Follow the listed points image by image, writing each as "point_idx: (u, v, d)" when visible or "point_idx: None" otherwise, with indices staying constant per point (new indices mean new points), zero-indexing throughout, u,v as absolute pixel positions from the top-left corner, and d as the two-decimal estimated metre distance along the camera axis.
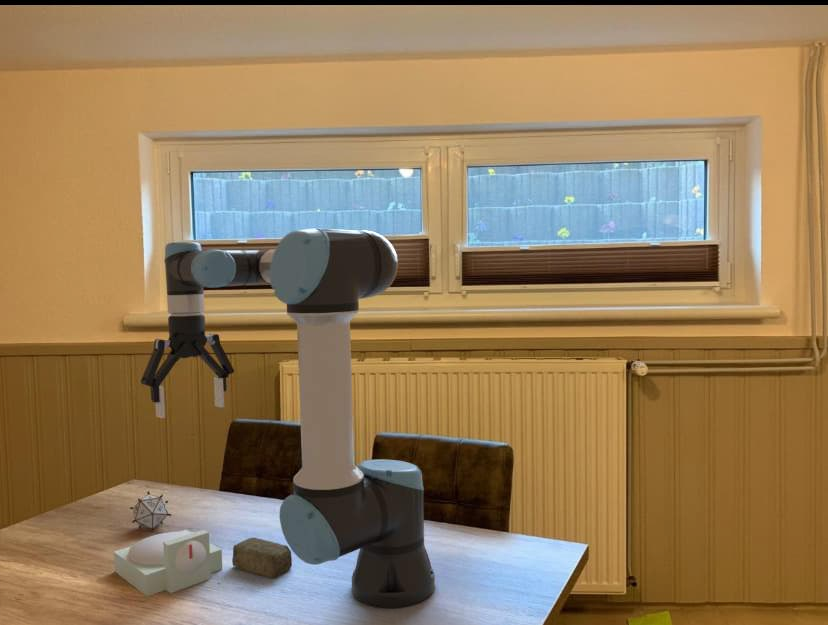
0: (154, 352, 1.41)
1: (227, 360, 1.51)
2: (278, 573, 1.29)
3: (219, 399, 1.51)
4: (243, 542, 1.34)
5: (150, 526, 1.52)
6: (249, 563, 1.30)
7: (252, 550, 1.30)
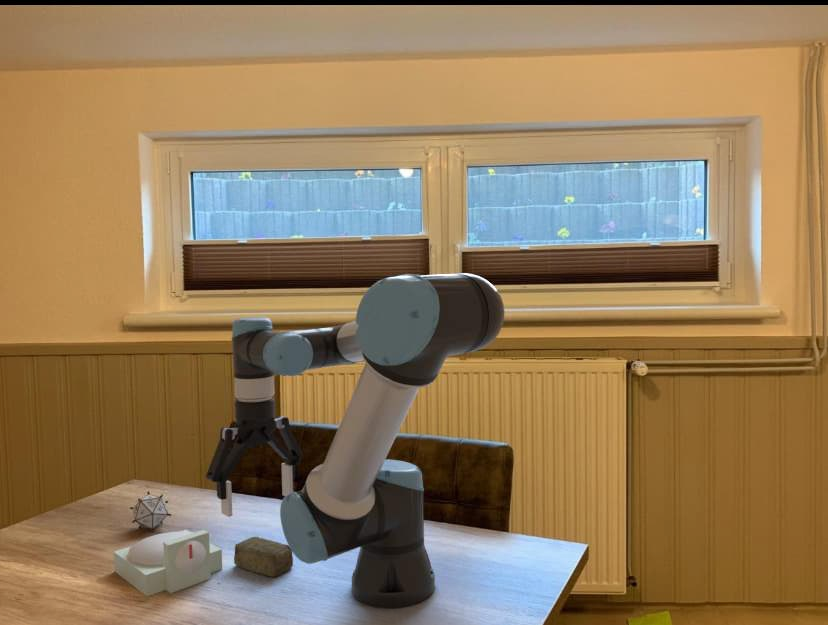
0: (221, 443, 1.26)
1: (297, 445, 1.36)
2: (279, 572, 1.29)
3: (288, 488, 1.36)
4: (245, 541, 1.35)
5: (150, 526, 1.52)
6: (250, 562, 1.31)
7: (254, 549, 1.31)
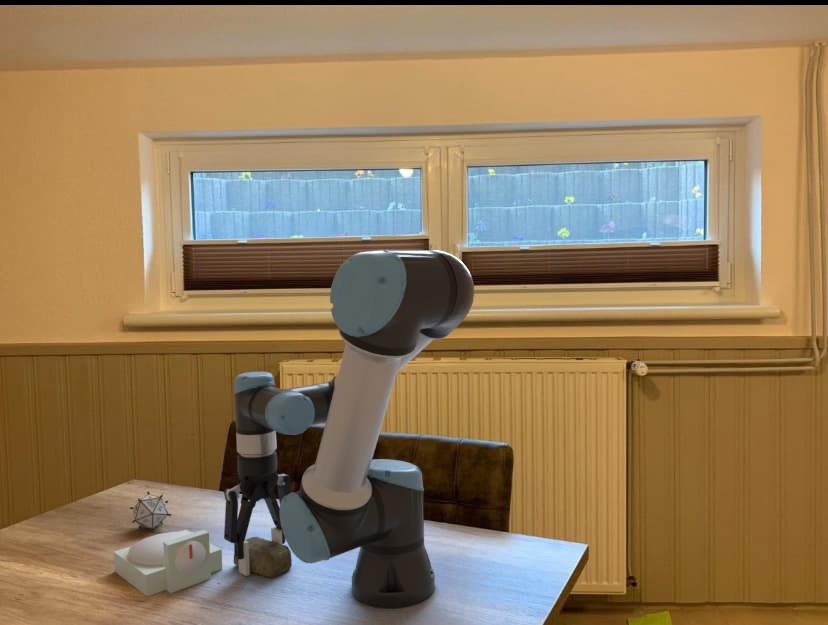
0: (228, 505, 1.28)
1: None
2: (277, 573, 1.29)
3: None
4: None
5: (150, 526, 1.52)
6: (249, 562, 1.31)
7: (252, 549, 1.31)
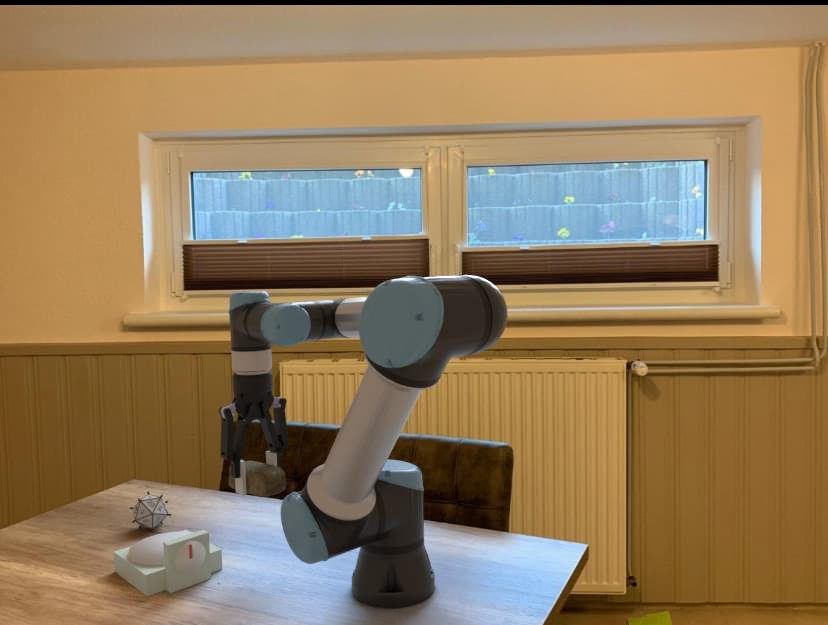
0: (223, 422, 1.27)
1: (285, 430, 1.34)
2: (270, 493, 1.27)
3: None
4: None
5: (150, 526, 1.52)
6: None
7: (246, 469, 1.29)
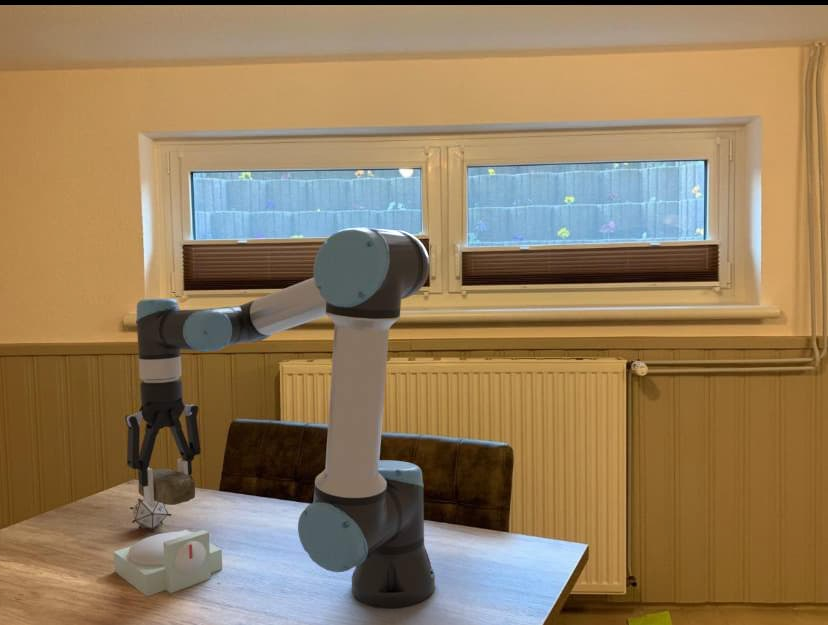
0: (129, 431, 1.26)
1: (197, 438, 1.34)
2: (178, 501, 1.27)
3: None
4: None
5: (150, 526, 1.52)
6: None
7: (154, 477, 1.29)
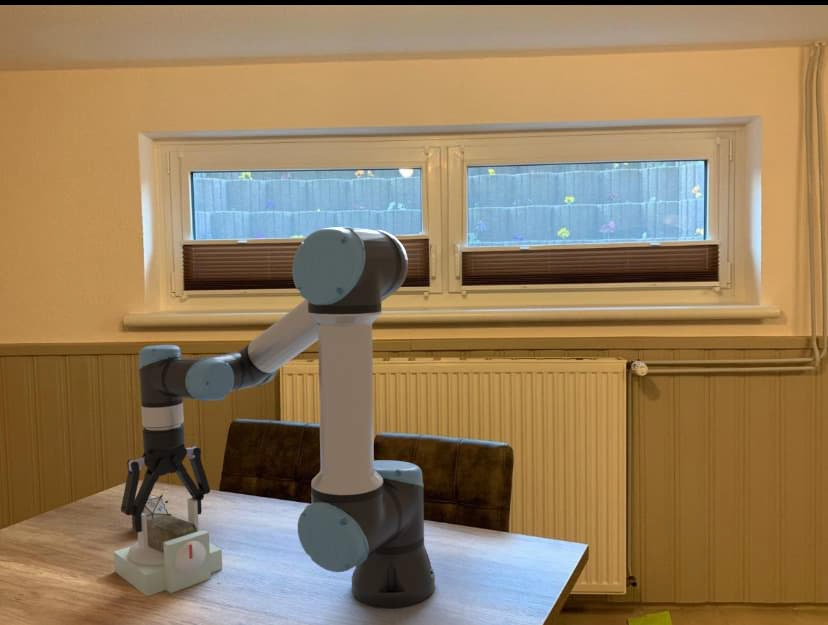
0: (129, 476, 1.26)
1: (204, 478, 1.35)
2: None
3: None
4: (154, 519, 1.34)
5: None
6: (155, 540, 1.30)
7: (158, 526, 1.30)
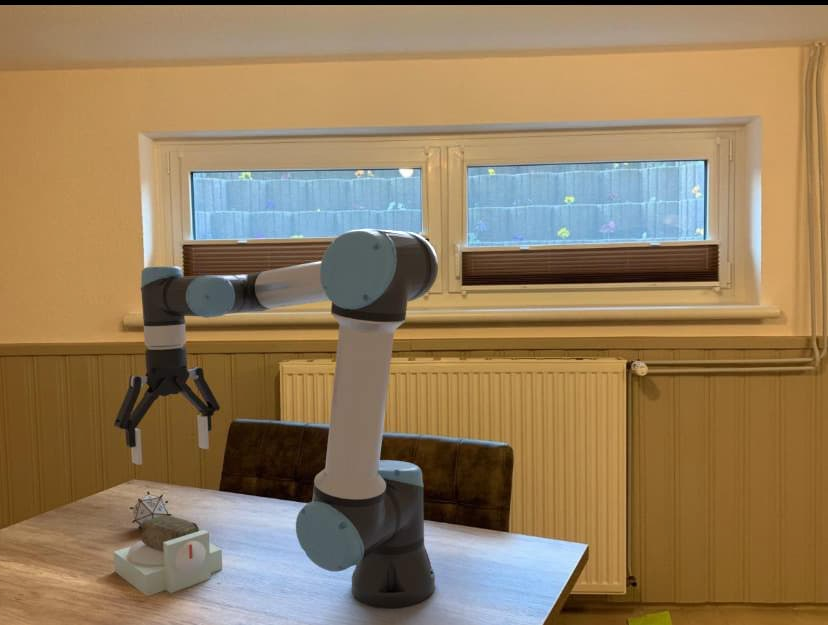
0: (129, 390, 1.26)
1: (212, 396, 1.36)
2: None
3: (203, 440, 1.35)
4: (153, 519, 1.34)
5: None
6: (156, 540, 1.30)
7: (159, 526, 1.30)
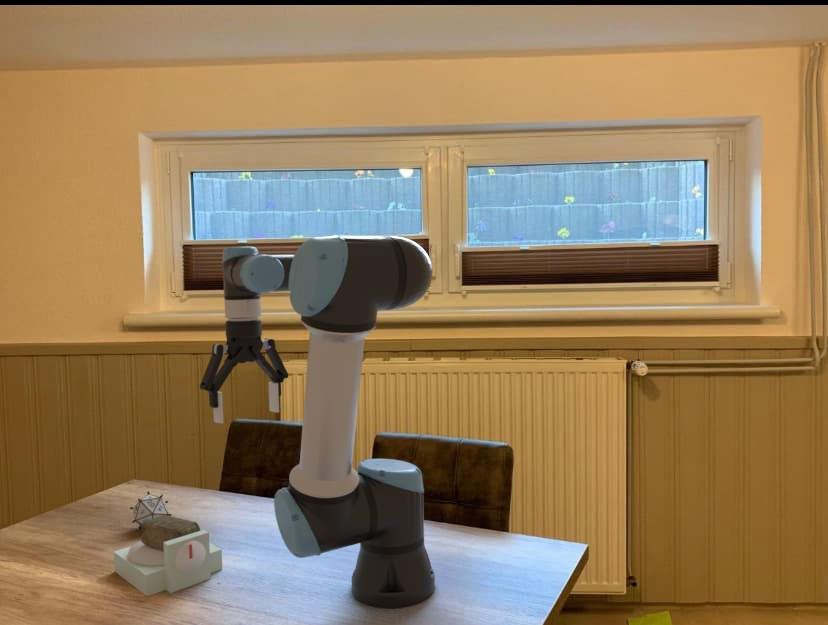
0: (213, 357, 1.41)
1: (282, 365, 1.51)
2: None
3: (274, 404, 1.50)
4: (153, 519, 1.33)
5: None
6: (157, 540, 1.30)
7: (160, 526, 1.30)
